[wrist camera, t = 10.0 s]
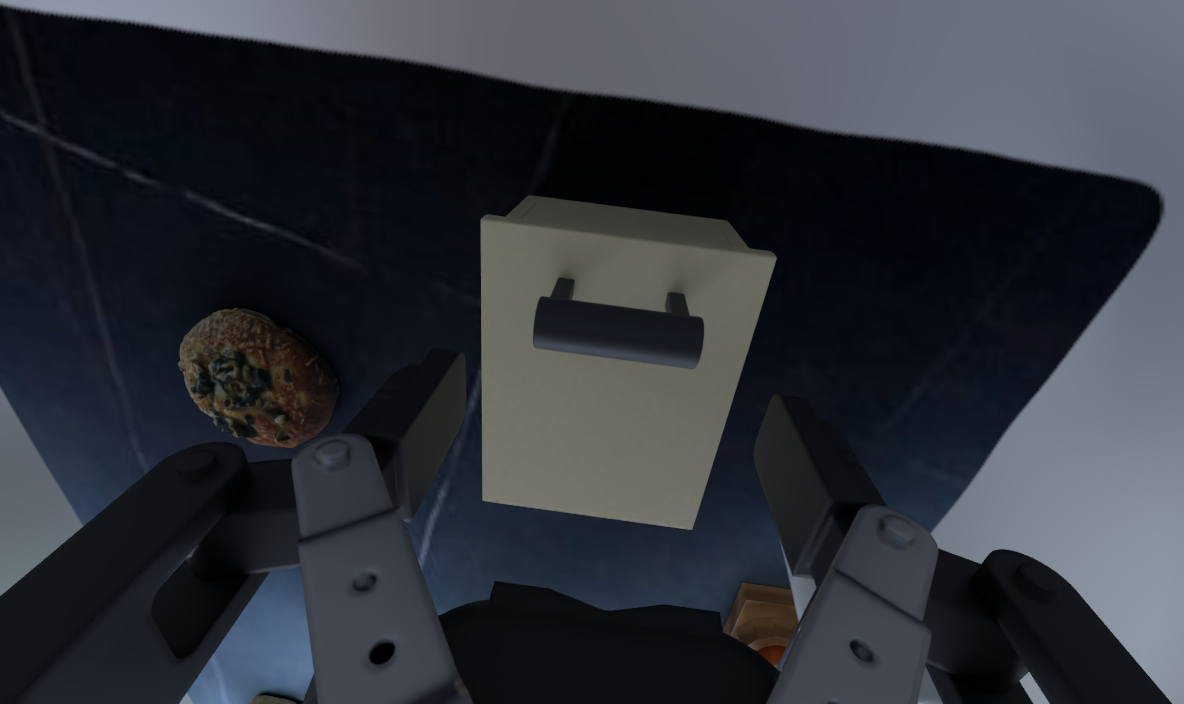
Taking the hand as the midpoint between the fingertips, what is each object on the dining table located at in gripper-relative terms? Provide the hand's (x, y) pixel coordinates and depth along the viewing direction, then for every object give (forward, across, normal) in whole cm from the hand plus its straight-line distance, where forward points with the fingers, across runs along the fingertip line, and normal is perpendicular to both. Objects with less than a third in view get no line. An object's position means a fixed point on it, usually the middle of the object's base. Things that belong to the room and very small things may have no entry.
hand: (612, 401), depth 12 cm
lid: (+9, 0, +5) cm, 10 cm away
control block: (+18, -18, +34) cm, 43 cm away
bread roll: (+18, +25, +14) cm, 33 cm away
